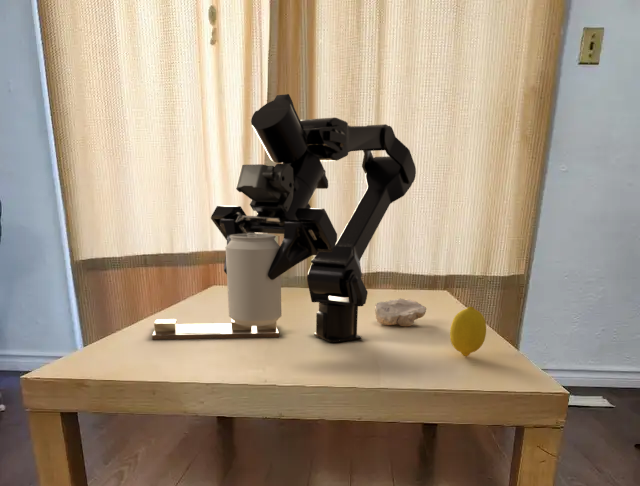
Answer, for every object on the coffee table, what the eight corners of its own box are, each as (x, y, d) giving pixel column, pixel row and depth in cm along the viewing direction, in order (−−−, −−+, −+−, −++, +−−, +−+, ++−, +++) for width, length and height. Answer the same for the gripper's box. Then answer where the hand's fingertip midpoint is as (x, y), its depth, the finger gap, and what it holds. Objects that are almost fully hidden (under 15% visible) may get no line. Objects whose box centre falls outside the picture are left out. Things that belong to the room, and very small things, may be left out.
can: (231, 328, 78) (226, 235, 74) (227, 317, 85) (222, 231, 80) (285, 326, 80) (284, 235, 75) (277, 315, 87) (275, 231, 82)
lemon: (490, 358, 91) (496, 308, 89) (464, 362, 89) (470, 310, 86) (466, 350, 96) (471, 302, 93) (440, 354, 93) (445, 304, 90)
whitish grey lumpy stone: (434, 312, 112) (392, 293, 108) (418, 342, 114) (376, 324, 110) (416, 300, 120) (376, 282, 116) (402, 329, 122) (362, 312, 118)
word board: (274, 326, 111) (274, 314, 110) (279, 337, 103) (278, 324, 102) (157, 328, 108) (156, 316, 107) (152, 339, 100) (151, 326, 99)
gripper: (215, 144, 81) (164, 230, 77) (327, 140, 72) (276, 237, 68) (252, 203, 90) (208, 283, 86) (356, 206, 81) (313, 296, 77)
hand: (247, 275), depth 79 cm, fingers closed on can, 7 cm apart
